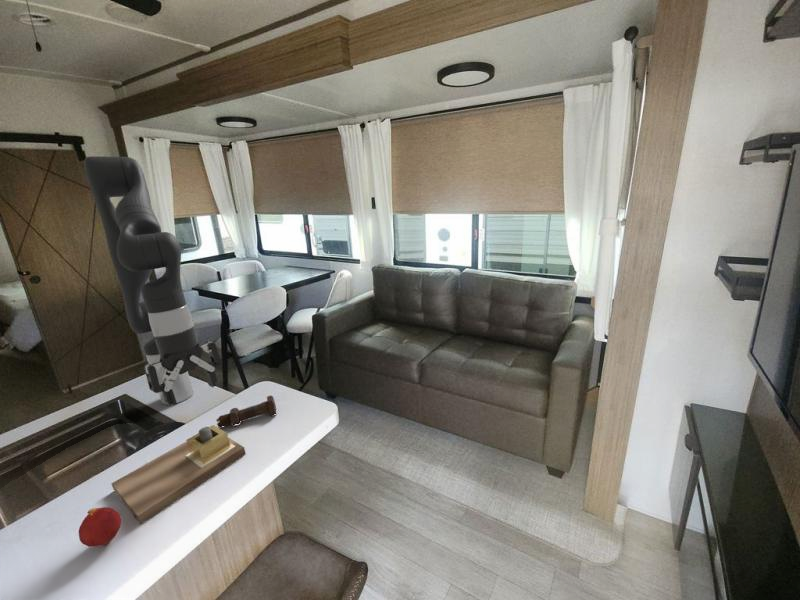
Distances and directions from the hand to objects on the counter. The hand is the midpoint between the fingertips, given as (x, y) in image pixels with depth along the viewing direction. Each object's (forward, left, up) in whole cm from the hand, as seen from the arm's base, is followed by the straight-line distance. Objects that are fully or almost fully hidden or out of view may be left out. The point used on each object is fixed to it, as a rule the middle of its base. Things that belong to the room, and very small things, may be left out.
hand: (193, 394), depth 79 cm
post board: (-2, -6, -17) cm, 18 cm away
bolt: (-7, +14, -18) cm, 23 cm away
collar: (0, 0, -15) cm, 15 cm away
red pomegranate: (+5, -22, -18) cm, 29 cm away
